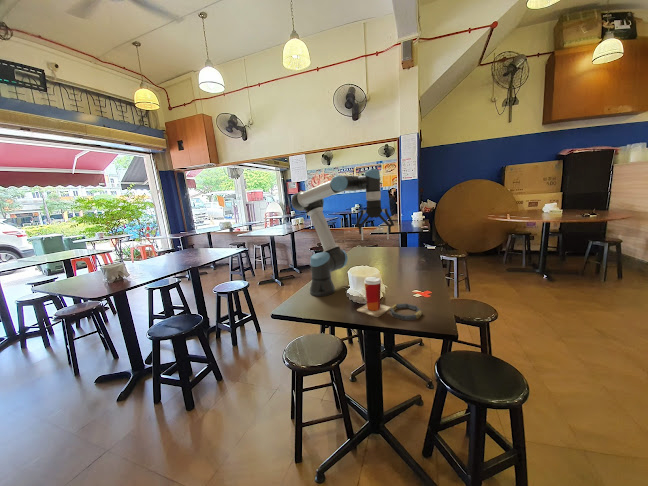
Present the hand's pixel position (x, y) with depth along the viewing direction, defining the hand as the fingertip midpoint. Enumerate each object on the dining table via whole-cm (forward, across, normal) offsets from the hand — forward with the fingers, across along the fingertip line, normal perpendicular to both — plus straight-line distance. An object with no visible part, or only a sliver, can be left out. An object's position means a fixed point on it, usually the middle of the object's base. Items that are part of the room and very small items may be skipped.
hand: (375, 239), depth 136 cm
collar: (+32, +14, -22) cm, 41 cm away
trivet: (+32, -1, -19) cm, 37 cm away
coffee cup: (+31, -1, -19) cm, 37 cm away
